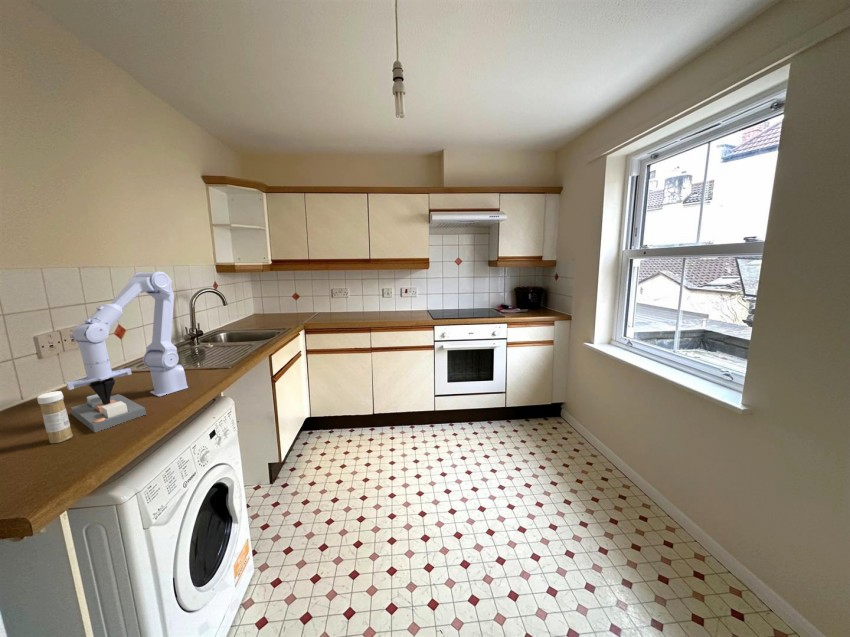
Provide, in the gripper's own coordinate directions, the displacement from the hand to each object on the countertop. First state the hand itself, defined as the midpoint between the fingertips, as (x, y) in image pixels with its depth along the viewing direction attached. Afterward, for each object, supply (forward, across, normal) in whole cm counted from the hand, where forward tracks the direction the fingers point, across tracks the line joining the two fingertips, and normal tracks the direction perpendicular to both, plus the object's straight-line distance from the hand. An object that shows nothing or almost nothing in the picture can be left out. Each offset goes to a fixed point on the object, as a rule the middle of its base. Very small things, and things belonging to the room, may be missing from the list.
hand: (106, 403), depth 105 cm
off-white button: (+2, 0, -7) cm, 8 cm away
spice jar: (+4, -12, -8) cm, 15 cm away
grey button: (+2, 0, +8) cm, 8 cm away
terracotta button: (+4, 0, 0) cm, 4 cm away
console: (+4, 0, 0) cm, 4 cm away
